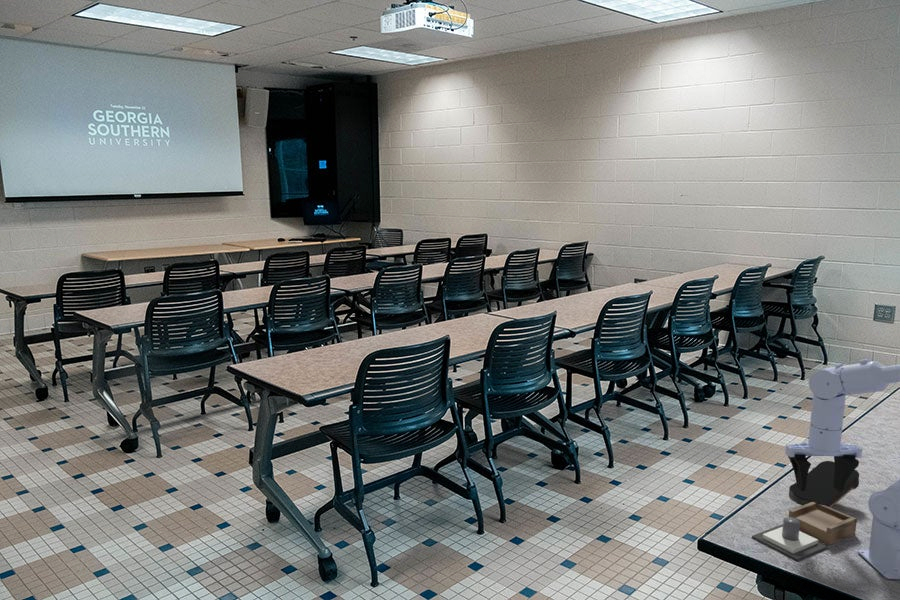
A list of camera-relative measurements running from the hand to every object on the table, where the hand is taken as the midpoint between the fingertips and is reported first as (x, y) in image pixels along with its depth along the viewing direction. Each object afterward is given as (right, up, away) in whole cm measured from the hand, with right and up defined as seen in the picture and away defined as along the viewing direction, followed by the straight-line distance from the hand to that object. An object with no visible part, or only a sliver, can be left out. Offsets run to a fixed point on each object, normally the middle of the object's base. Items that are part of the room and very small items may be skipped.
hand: (819, 489), depth 140 cm
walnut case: (+2, -9, +2) cm, 10 cm away
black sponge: (+9, -5, +14) cm, 17 cm away
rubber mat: (-7, -10, -3) cm, 13 cm away
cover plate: (-7, -10, -3) cm, 12 cm away
